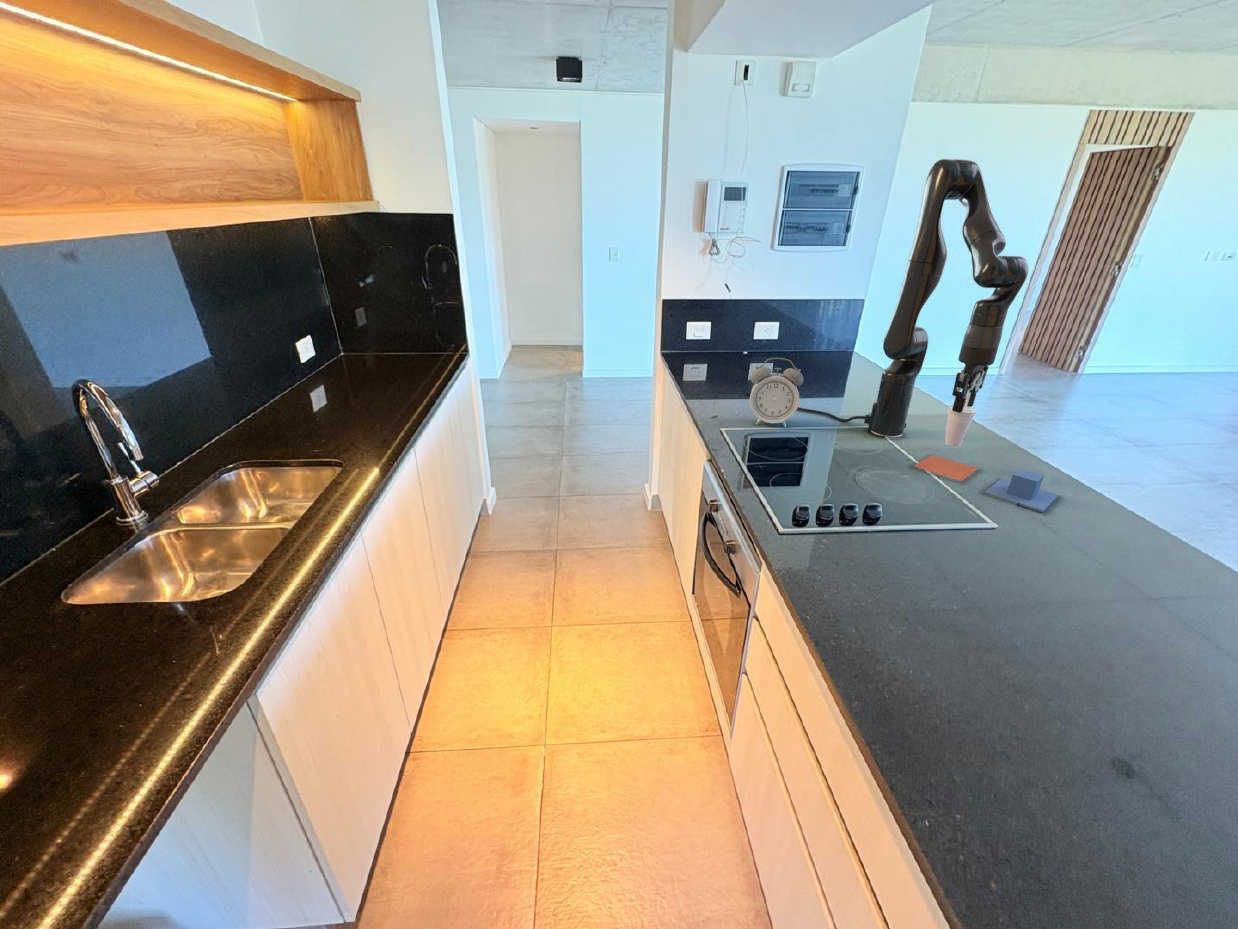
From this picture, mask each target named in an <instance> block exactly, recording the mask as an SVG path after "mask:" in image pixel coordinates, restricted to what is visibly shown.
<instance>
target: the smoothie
mask: <svg viewBox="0 0 1238 929" xmlns="http://www.w3.org/2000/svg"><path fill="white" fill-rule="evenodd" d="M970 394H971V393H970V392H969V393H968V395H967V399H966V402H965V406H964V408H963V411H962V412H960V413H959V412H955V411H953V410H952V408H953V405H954V404H952V405H949V406H948V408H947V409H946V410H947V420H946V430H945V436H944V444H946V445H948V446H952V447H961V445H962V444H963V441H964V439H965V437H966V435H967V432H968V430H969V428H970V426H971V423H972V422H973V419H974V417H975V416H976V415H977V409H976V408H974V407H968V406H967V404H968V401H969V398H970Z"/></svg>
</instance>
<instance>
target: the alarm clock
mask: <svg viewBox="0 0 1238 929" xmlns="http://www.w3.org/2000/svg"><path fill="white" fill-rule="evenodd" d="M771 360H782V361H787V362H789V363H790V364H791V365H792V367H793V368H792V367H789V368H786V369H784V370H783V372H782V373H780V372H779V371H781V370H782V368H781V367H775V368H774V370H775V371H776V372H773V371H772V369H771V368H770V367H768V366H764V365H765V364H766V363H767V362H768V361H771ZM754 367H755V369H754V370H753V371H752V372H751V374H750V377H749V378H750V382H751V384H753V385H752V387H751V391H750V392H751V395H749V406H750V410H751V412H752V413H753V415H754V416H755V417H756V418H757V421H756V423H755V424H756V425H758V424H759V423H761V421H762V422H764V423H768V424H781V423H782V425H783V426H784V428H787V424H786V421H788V420H789V419H791V418H792V417H793V416H794V415H795V413H796V412H797V411H798V410H797V408H798V407H799V405H800V393H799V389H798V387H801V386H802V385H803V383H804V376H803V374H802V373H801V371H802V369H801V368H799V369H798V368H797V367H795V365H794V362H793V361H792V360H790V359H788V358H785V357H770V358H767V359H765V360H764V362H763V363H762V364H761V365H759V366H754Z"/></svg>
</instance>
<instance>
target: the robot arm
mask: <svg viewBox="0 0 1238 929" xmlns="http://www.w3.org/2000/svg"><path fill="white" fill-rule="evenodd" d="M945 201H958V202H959V203H960V204H961V205H962V206H963V208H964V211H965V215H964V219H963V222H962V226H961V236H962V239H963V242H964V244H965V245H966V247H967V249H968V252H969V254H970V259H971V260H970V261H971V274H972V279H973V281H974V283H975V284H976V285H977V286H978V287H980V288H982V289H993V291H992V292H991V294H990V295H989V296H986V297H984V298H983V297H982V298H980V299H977V300H975V302H974V304H973V307H972V309H971V314H970V318H969V322H968V325H967V327H966V330H965V333H964V336H963V339H962V342H961V343H962V344H961V347H960V351H959V354H958V358H957V359H958V361H959V362H960V363H961V364H964V367H963V369H961V371H960V372H957V373H956V376H955V380H954V385H953V389H952V394H951V395H952V396H953V397H954V401H953V404H952V405H953V408H952V410H953V411H955V412H959V413H960V412H962V411H963V408H964V406H965V402H966V399H967V395H968V393H969V392H970V393H971V394H970V398H969V401H968V404H967V407H971V408H973V406H974V404H975V402H976V397H977V393H979V391H980V390H982V388H983V386H984V383H985V379H986V377H987V373H988V370H989V366H992V365H994V363H995V360H996V358H997V354H998V350H999V347H1000V343H1001V341H1002V336H1003V329H1004V325H1005V323H1006V319H1007V315H1008V312H1009V309H1010V307H1011V305H1012V304H1013V303H1014V301H1015V299H1016V297H1017V296H1018V294H1019V292H1020V291H1021V289H1022V287H1023V286H1024V284H1025V282H1026V280H1027V278H1028V274H1029V263H1028V260H1027V259H1026V258H1025V257H1023V256H1022V255H1000V254H1001V253H1003V251H1004V250H1005V248H1006V245H1007V241H1006V238H1005V235H1004V234H1003V232H1002V230H1001V228H1000V226H999V224H998V222H997V221H996V219H995V216H994V214H993V211H992V208H991V206H990V201H989V197H988V193H987V189H986V185H985V181H984V177H983V173H982V171H981V168H980V166H979V164H978V163H977V162H976V161H975V160H971V159H959V158H941V159H938V160H937V161H935V162H934V163H933V164H932V166H931V168H930V169H929V170H928V173H927V175H926V178H925V182H924V185H923V191H922V197H921V203H920V208H919V215H918V220H917V224H916V229H915V234H914V236H913V242H912V245H911V249H910V251H909V255H908V259H907V262H906V265H905V269H904V274H903V279H902V283H901V286H900V290H899V293H898V297H897V299H896V300H897V301H896V303H895V307H894V310H893V313H892V316H891V319H890V322H889V324H888V326H887V329H886V331H885V334H884V338H883V343H882V348H883V352H884V354H885V356H886V357H887V358H888V359H889V360H892V362H891V363H890V364H889V365H888V366H887V367H885V368H884V369H883V370H882V374H881V377H880V383H879V387H878V393H877V397H876V401H874V402H873V403H872V408H871V412H869V413H867V414H865V415H855V416H851V417H849V418H841V417H838V416H836V415H834V414H832V413H830V412H826V411H822V410H817V409H811V408H803V407H799V406H798V408H797V410H796V411H801V412H807V413H813V414H819V415H824V416H826V417H830V418H832V419H835V420H836V421H839V422H843V423H848V422H851V421H853V420H864V421H863V423H864V424H867V425H868V426H867V432H869V433H871V434H872V435H874V436H877V437H880V438H883V439H884V438H900V437H902V436H904V430H905V429H906V427H907V423H906V421H907V418H908V413H909V409H910V406H911V401H912V397H913V392H914V388H915V384H916V379H917V377H918V376H919V375H920V373H921V371H922V368H923V365H924V361H925V358H926V355H927V351H928V346H929V335H928V332H927V331H926V330H925V328H924V327H922V326H919V325H917V322H918V319H919V317H920V314H921V311H922V310H923V308H924V306H925V304H926V303H927V302H928V300H929V299H930V298H931V296H932V295H933V293H934V292H935V290H936V289H937V287H938V285H939V283H940V282H941V279H942V277H943V273H944V270H945V266H946V263H947V259H948V248H947V242H946V240H945V236H944V233H943V229H942V214H943V213H942V212H943V207H944V204H945ZM746 394H747V395H749V396H750V395H751V391H746Z"/></svg>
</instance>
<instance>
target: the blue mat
mask: <svg viewBox="0 0 1238 929" xmlns="http://www.w3.org/2000/svg"><path fill="white" fill-rule="evenodd" d="M1010 482H1011V480H1009V479H1007V478H1000V479H999V480H998V481H996V482H995V483H994V484H993V485H991V486H990V487H989V488H988V489H987V490H985V491H984V493H985V494H989V495H992V496H995V497H999V498H1001V499H1005V500H1008V501H1011V502H1014V503H1016V505H1017V506H1020V507H1023V508H1026V509H1029V510H1032V511H1035V512H1039V513H1042V514H1043V513H1044V512H1045V511H1046V510H1047V509H1048V508H1049V507H1050V506H1051V505H1052V504H1053V503H1054V502H1055V501H1056V499H1058V497H1059V494H1056V493H1054V492H1050V491H1046V490H1043V489H1040V488H1039V491H1038V493H1037V495H1036V496H1035V497H1034V498H1033V499H1032V500H1028V499H1025V498H1022V497H1018V496H1015V495H1012V494H1009V493H1007V490H1008V488H1009V485H1010Z"/></svg>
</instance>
